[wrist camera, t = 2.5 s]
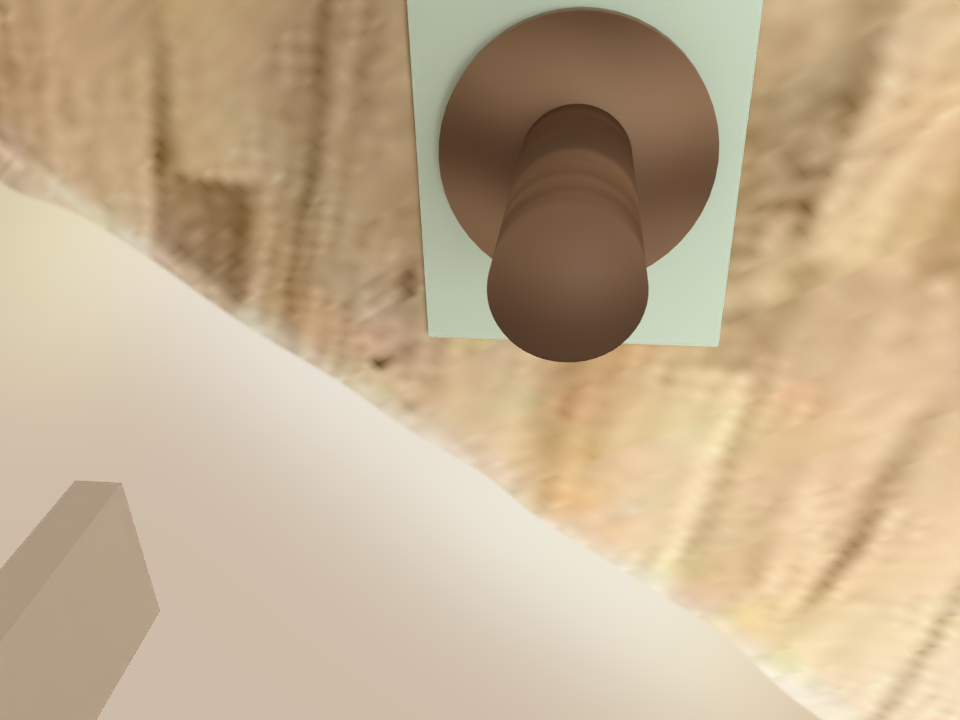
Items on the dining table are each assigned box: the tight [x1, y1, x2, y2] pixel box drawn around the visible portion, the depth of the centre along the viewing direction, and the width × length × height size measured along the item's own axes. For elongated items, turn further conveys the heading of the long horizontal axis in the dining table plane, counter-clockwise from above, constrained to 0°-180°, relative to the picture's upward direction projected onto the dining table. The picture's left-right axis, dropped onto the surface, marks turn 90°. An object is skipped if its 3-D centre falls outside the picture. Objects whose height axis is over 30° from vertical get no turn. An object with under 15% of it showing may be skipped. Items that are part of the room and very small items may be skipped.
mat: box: [407, 0, 764, 347], centre depth 32 cm, size 16×12×1 cm
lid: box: [439, 7, 719, 362], centre depth 26 cm, size 10×10×12 cm
